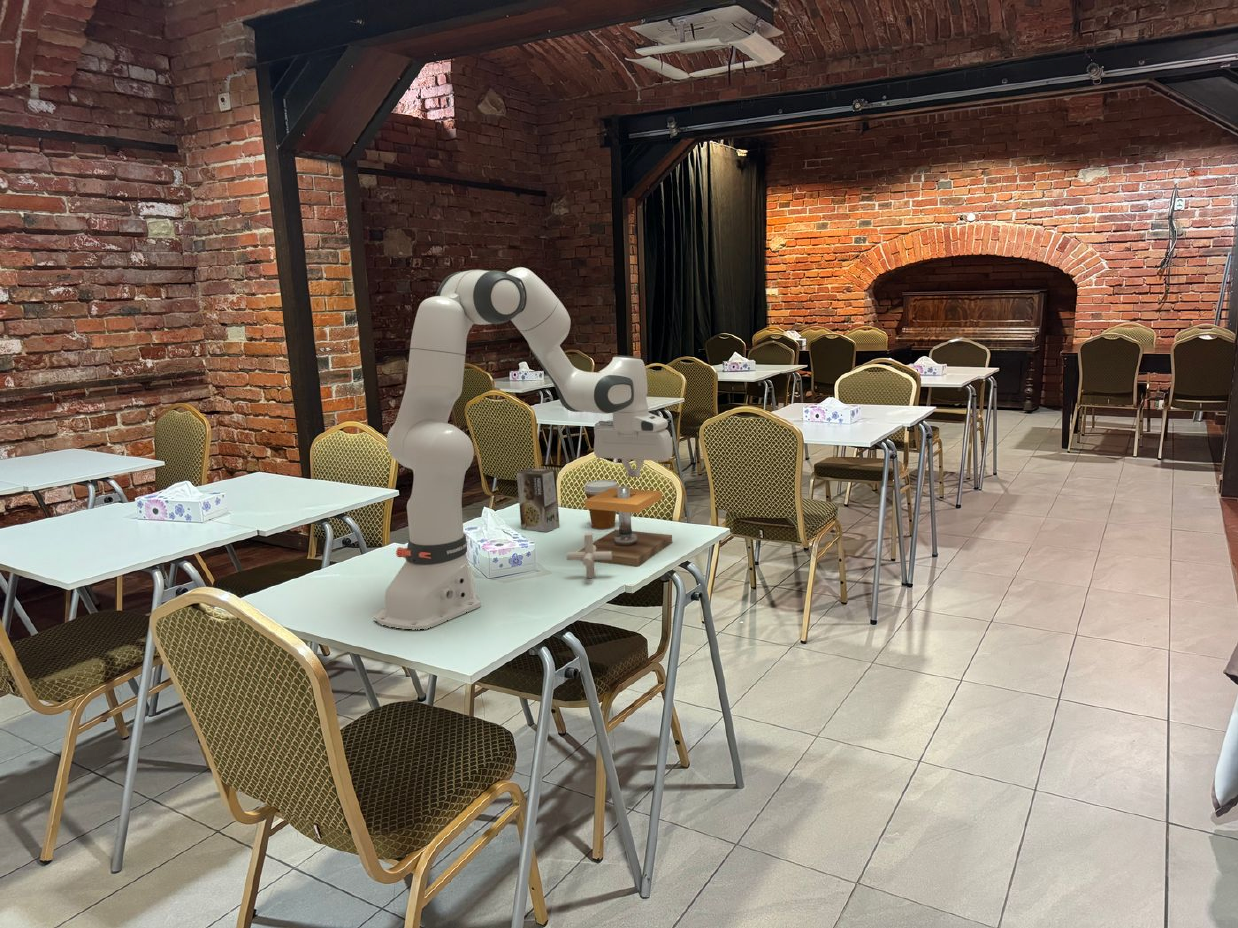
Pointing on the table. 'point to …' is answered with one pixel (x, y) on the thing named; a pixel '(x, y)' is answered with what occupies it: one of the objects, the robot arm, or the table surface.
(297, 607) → the table surface
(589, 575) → the pipe connector
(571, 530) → the table surface
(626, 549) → the walnut base board
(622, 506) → the orange collar
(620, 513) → the metal pipe
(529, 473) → the grey-brown upright rectangular box
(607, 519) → the disposable coffee cup
